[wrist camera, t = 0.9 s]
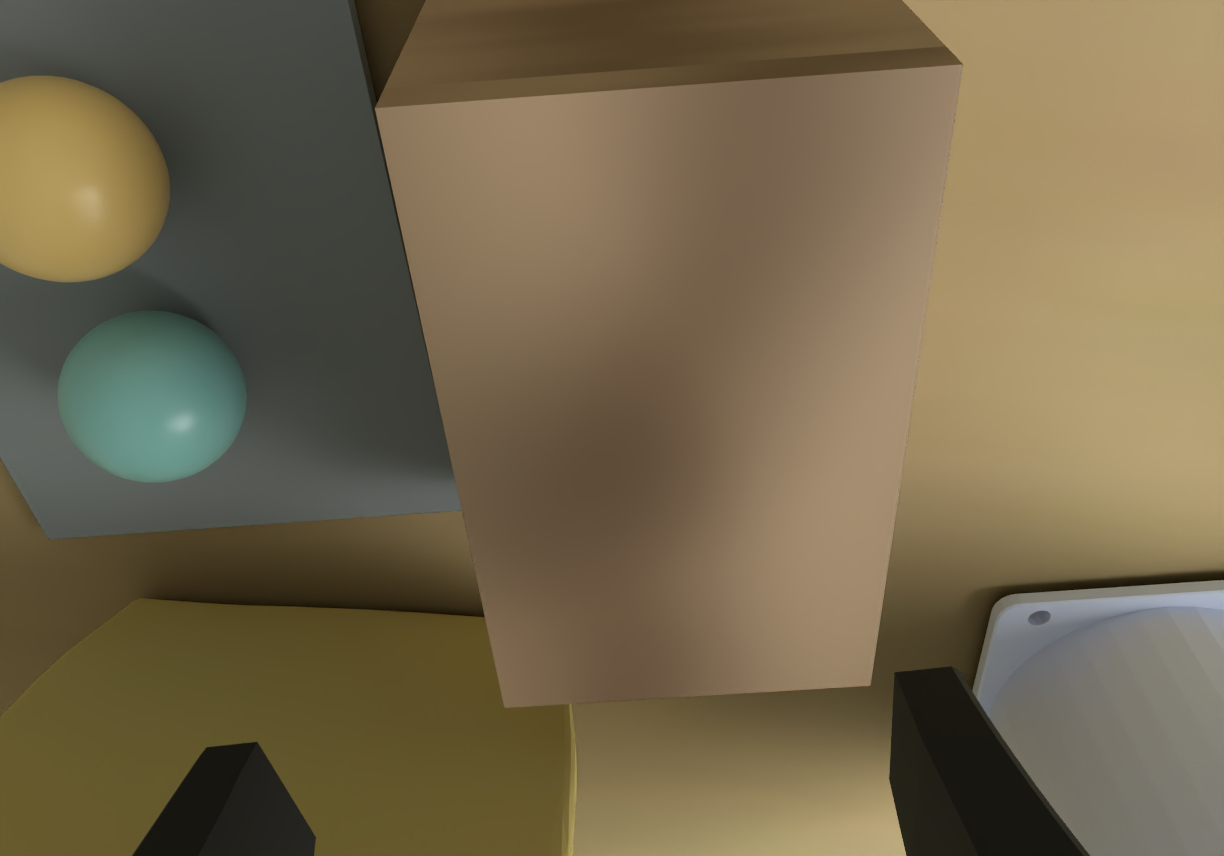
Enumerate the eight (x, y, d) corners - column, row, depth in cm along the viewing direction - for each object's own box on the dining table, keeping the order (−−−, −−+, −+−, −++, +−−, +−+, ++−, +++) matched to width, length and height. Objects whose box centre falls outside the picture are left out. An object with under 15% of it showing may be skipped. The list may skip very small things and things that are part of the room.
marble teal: (237, 272, 17) (184, 367, 15) (285, 408, 19) (242, 511, 17) (71, 285, 18) (-8, 382, 15) (134, 419, 19) (70, 524, 17)
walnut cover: (840, -65, 15) (963, 64, 10) (805, 453, 21) (870, 685, 16) (441, -34, 15) (375, 109, 10) (522, 472, 21) (504, 707, 16)
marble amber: (157, 40, 15) (77, 109, 13) (219, 220, 17) (160, 311, 14) (-35, 56, 15) (-151, 129, 13) (47, 234, 17) (-40, 327, 15)
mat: (307, -214, 13) (300, -210, 13) (463, 497, 21) (462, 510, 21) (-336, -156, 14) (-358, -152, 13) (55, 527, 22) (48, 539, 21)
